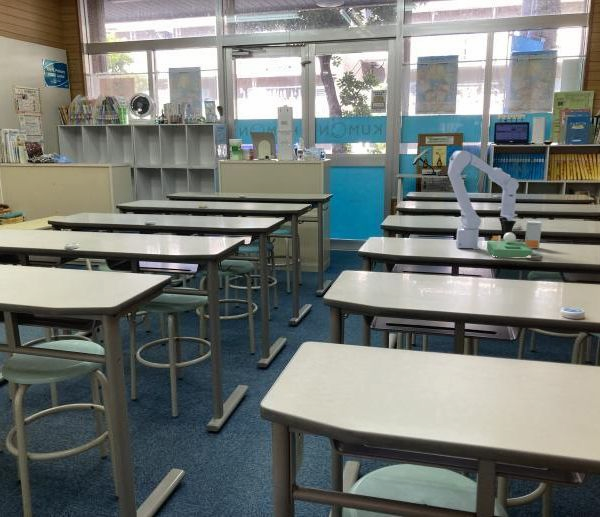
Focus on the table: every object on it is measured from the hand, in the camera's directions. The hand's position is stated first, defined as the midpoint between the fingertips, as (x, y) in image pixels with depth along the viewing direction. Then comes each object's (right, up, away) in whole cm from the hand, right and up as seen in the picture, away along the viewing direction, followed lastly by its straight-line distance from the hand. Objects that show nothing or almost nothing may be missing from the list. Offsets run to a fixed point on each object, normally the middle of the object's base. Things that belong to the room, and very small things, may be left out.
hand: (506, 234), depth 244 cm
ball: (-2, -2, -9) cm, 9 cm away
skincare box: (+12, -6, +1) cm, 14 cm away
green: (-4, -9, -12) cm, 15 cm away
